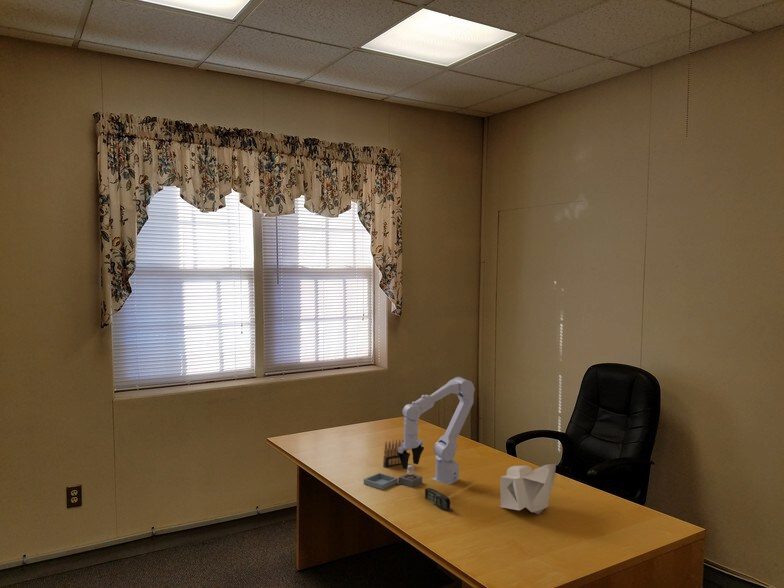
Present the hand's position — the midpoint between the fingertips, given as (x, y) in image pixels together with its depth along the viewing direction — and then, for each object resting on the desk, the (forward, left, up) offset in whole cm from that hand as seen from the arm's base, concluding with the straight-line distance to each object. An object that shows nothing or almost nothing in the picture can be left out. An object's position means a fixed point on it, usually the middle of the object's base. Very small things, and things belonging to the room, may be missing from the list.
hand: (410, 466), depth 242 cm
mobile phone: (-22, +10, -8) cm, 25 cm away
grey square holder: (0, 0, -8) cm, 8 cm away
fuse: (0, 0, -7) cm, 7 cm away
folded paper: (-51, -10, -8) cm, 53 cm away
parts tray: (+9, +8, -8) cm, 14 cm away
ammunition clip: (+19, -13, -8) cm, 24 cm away
